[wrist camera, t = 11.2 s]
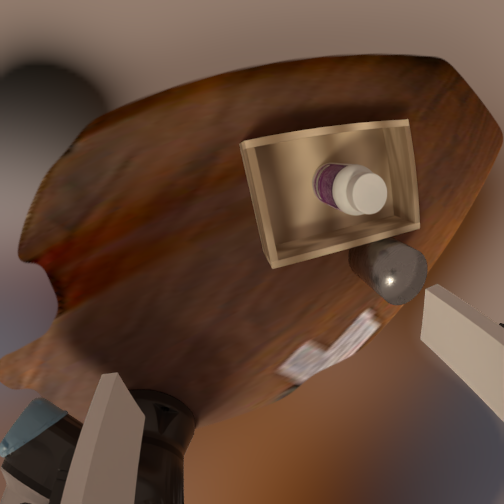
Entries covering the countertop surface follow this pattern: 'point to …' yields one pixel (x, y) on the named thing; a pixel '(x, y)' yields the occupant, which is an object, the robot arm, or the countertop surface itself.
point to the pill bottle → (349, 188)
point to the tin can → (390, 269)
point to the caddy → (306, 203)
